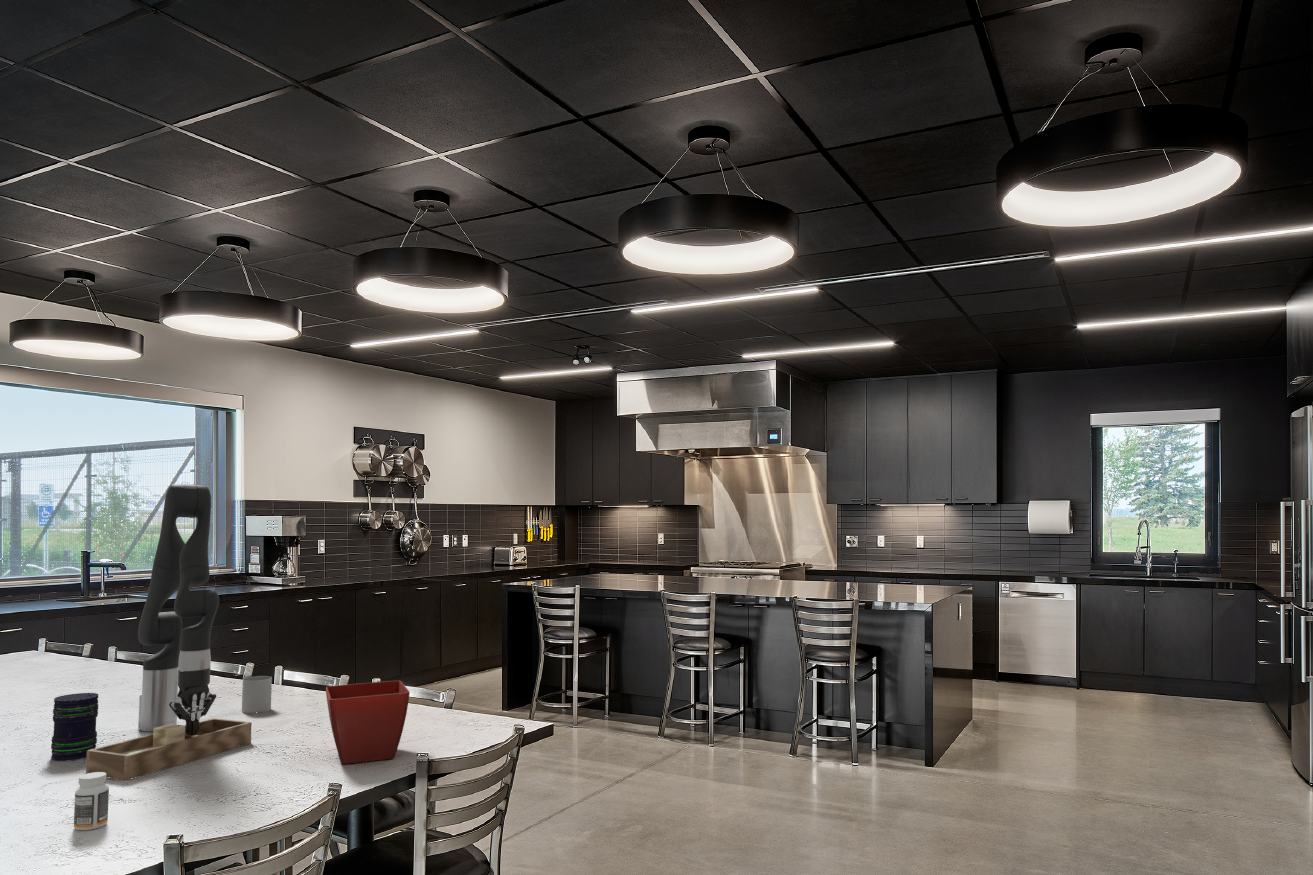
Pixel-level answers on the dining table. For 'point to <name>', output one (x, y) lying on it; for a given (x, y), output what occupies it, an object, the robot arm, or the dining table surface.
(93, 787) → the pill bottle
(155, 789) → the dining table surface
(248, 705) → the cup
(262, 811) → the dining table surface
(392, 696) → the plant pot
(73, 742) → the storage jar
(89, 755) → the long open wooden box
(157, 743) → the maple block
